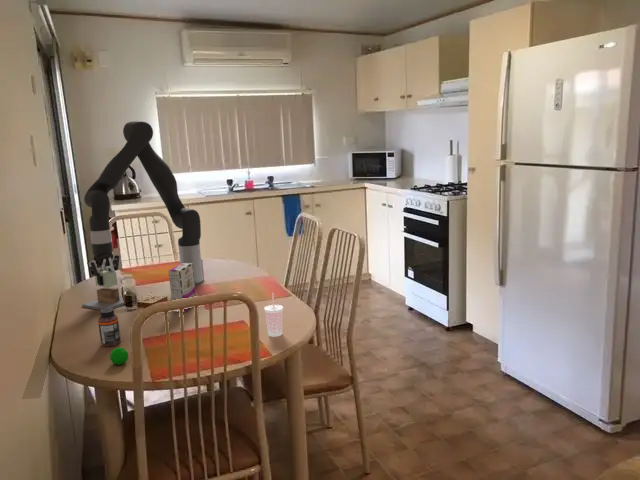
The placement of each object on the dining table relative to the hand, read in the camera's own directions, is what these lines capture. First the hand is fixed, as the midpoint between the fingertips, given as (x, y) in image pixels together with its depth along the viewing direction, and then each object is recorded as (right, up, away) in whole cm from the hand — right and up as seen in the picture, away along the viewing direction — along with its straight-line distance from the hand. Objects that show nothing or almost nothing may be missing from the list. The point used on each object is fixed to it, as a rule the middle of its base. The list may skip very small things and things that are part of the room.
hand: (106, 283), depth 211 cm
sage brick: (0, -1, 0) cm, 1 cm away
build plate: (0, -8, +2) cm, 8 cm away
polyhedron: (+26, -19, -56) cm, 65 cm away
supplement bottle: (+18, -16, -40) cm, 47 cm away
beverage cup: (+70, -14, -37) cm, 81 cm away
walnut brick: (0, -7, +2) cm, 7 cm away
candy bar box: (+33, -9, -7) cm, 35 cm away
